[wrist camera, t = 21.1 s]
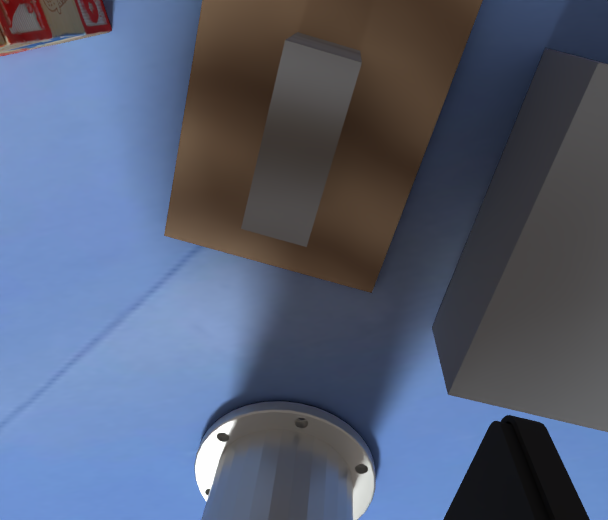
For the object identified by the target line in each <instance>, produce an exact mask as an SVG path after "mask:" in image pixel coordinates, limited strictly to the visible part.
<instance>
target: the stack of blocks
mask: <svg viewBox="0 0 608 520" xmlns="http://www.w3.org/2000/svg"><path fill="white" fill-rule="evenodd" d="M110 31H112V28H111V25H110V22H109V19H108V16H107V13H106V10H105V7H104V4H103V1H102V0H0V56H5V55H9V54H14V53H18V52H22V51H27V50H31V49H36V48H40V47H45V46H50V45H56V44H61V43H65V42H69V41H74V40H78V39H83V38H87V37H91V36H96V35H100V34H104V33H109V32H110Z"/></svg>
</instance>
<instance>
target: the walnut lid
mask: <svg viewBox="0 0 608 520" xmlns="http://www.w3.org/2000/svg"><path fill="white" fill-rule="evenodd" d="M482 1H483V0H202V6H201V12H200V19H199V25H198V31H197V37H196V43H195V49H194V56H193V62H192V68H191V74H190V80H189V86H188V93H187V99H186V105H185V111H184V117H183V123H182V130H181V136H180V142H179V148H178V154H177V160H176V167H175V173H174V179H173V185H172V191H171V197H170V204H169V210H168V216H167V222H166V228H165V234H164V236H167V237H171V238H175V239H178V240H182V241H186V242H189V243H193V244H196V245H200V246H204V247H207V248H211V249H215V250H218V251H222V252H225V253H229V254H233V255H236V256H240V257H243V258H247V259H251V260H254V261H258V262H262V263H265V264H269V265H272V266H276V267H280V268H283V269H287V270H290V271H294V272H298V273H301V274H305V275H309V276H312V277H316V278H319V279H323V280H327V281H330V282H334V283H338V284H341V285H345V286H348V287H352V288H356V289H359V290H363V291H366V292H370V293H372V291H373V288H374V286H375V283H376V280H377V278H378V275H379V272H380V270H381V267H382V264H383V262H384V259H385V257H386V254H387V251H388V249H389V246H390V243H391V241H392V238H393V235H394V233H395V230H396V228H397V225H398V222H399V220H400V217H401V214H402V212H403V209H404V206H405V204H406V201H407V199H408V196H409V193H410V191H411V188H412V185H413V183H414V180H415V178H416V175H417V172H418V170H419V167H420V164H421V162H422V159H423V156H424V154H425V151H426V149H427V146H428V143H429V141H430V138H431V135H432V133H433V130H434V127H435V125H436V122H437V120H438V117H439V114H440V112H441V109H442V106H443V104H444V101H445V98H446V96H447V93H448V91H449V88H450V85H451V83H452V80H453V77H454V75H455V72H456V69H457V67H458V64H459V62H460V59H461V56H462V54H463V51H464V48H465V46H466V43H467V40H468V38H469V35H470V33H471V30H472V27H473V25H474V22H475V19H476V17H477V14H478V11H479V9H480V6H481V4H482Z"/></svg>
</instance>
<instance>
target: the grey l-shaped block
mask: <svg viewBox="0 0 608 520" xmlns="http://www.w3.org/2000/svg"><path fill="white" fill-rule="evenodd" d="M432 330H433V334H434V338H435V342H436V347H437V351H438V355H439V359H440V363H441V367H442V372H443V376H444V380H445V384H446V388H447V392H448V395H452V396H456V397H461V398H465V399H469V400H473V401H478V402H482V403H486V404H490V405H495V406H499V407H503V408H508V409H512V410H516V411H520V412H525V413H529V414H533V415H537V416H542V417H546V418H550V419H554V420H559V421H563V422H567V423H571V424H576V425H580V426H584V427H588V428H593V429H597V430H601V431H605V432H608V64H607V63H603V62H599V61H595V60H591V59H587V58H583V57H579V56H575V55H571V54H567V53H563V52H560V51H556V50H552V49H548V48H545V50H544V52H543V55H542V57H541V60H540V62H539V65H538V67H537V70H536V72H535V75H534V77H533V80H532V82H531V85H530V87H529V89H528V92H527V94H526V97H525V99H524V102H523V104H522V107H521V109H520V112H519V114H518V117H517V119H516V121H515V124H514V126H513V129H512V131H511V134H510V136H509V139H508V141H507V144H506V146H505V149H504V151H503V154H502V156H501V158H500V161H499V163H498V166H497V168H496V171H495V173H494V176H493V178H492V181H491V183H490V186H489V188H488V191H487V193H486V195H485V198H484V200H483V203H482V205H481V208H480V210H479V213H478V215H477V218H476V220H475V223H474V225H473V228H472V230H471V232H470V235H469V237H468V240H467V242H466V245H465V247H464V250H463V252H462V255H461V257H460V260H459V262H458V265H457V267H456V269H455V272H454V274H453V277H452V279H451V282H450V284H449V287H448V289H447V292H446V294H445V297H444V299H443V302H442V304H441V306H440V309H439V311H438V314H437V316H436V319H435V321H434V324H433V326H432Z"/></svg>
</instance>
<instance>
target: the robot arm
mask: <svg viewBox="0 0 608 520" xmlns="http://www.w3.org/2000/svg"><path fill="white" fill-rule="evenodd" d="M195 478H196V481H197V484H198V487H199V490H200V492H201V493H202V495H203V497H204V498H205V500H206V505H205V509H204V512H203V516H202V519H201V520H358V519H359V518H360V517H361V516H362V515H363V514H364V513H365V511H366V510H367V508H368V507H369V505H370V503H371V501H372V499H373V495H374V492H375V466H374V460H373V457H372V455H371V452H370V450H369V447H368V446H367V445H366V443H365V442H364V440H363V439H362V437H361V436H360V435H359V434H358V433H357V432H356V431H355V430H354V429H353V428H352V427H351V426H350V425H348V424H347V423H345V422H344V421H342V420H341V419H339V418H338V417H336V416H335V415H333V414H330V413H328V412H326V411H323V410H321V409H319V408H316V407H312V406H308V405H305V404H301V403H293V402H284V401H275V402H261V403H256V404H250V405H246V406H244V407H241V408H238V409H236V410H233V411H231V412H229V413H228V414H226V415H224V416H223V417H221V418H219V419H218V420H217V421H216V422H215V423H214V424H213V425H212V426H211V427H210V428H209V429H208V431H207V432H206V434H205V435H204V437H203V438H202V441H201V444H200V446H199V449H198V452H197V455H196V460H195ZM443 520H590V519H589V517H588V515H587V513H586V511H585V509H584V507H583V505H582V502H581V500H580V498H579V496H578V494H577V492H576V490H575V488H574V486H573V483H572V481H571V479H570V477H569V475H568V473H567V471H566V469H565V467H564V464H563V462H562V460H561V458H560V456H559V454H558V452H557V450H556V448H555V445H554V443H553V441H552V439H551V437H550V435H549V433H548V431H547V429H546V427H545V426H544V424H542V423H540V422H536V421H532V420H528V419H524V418H519V417H515V416H511V415H507V416H505V417H504V418H503V419H502V420H501V422H499V421H494V422H492V423H491V425H490V426H489V428H488V430H487V432H486V434H485V436H484V438H483V440H482V442H481V444H480V446H479V449H478V451H477V453H476V455H475V457H474V459H473V461H472V463H471V465H470V467H469V469H468V471H467V473H466V475H465V477H464V479H463V481H462V483H461V485H460V487H459V489H458V491H457V493H456V495H455V497H454V499H453V501H452V503H451V505H450V507H449V509H448V511H447V513H446V515H445V517H444V519H443Z"/></svg>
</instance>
